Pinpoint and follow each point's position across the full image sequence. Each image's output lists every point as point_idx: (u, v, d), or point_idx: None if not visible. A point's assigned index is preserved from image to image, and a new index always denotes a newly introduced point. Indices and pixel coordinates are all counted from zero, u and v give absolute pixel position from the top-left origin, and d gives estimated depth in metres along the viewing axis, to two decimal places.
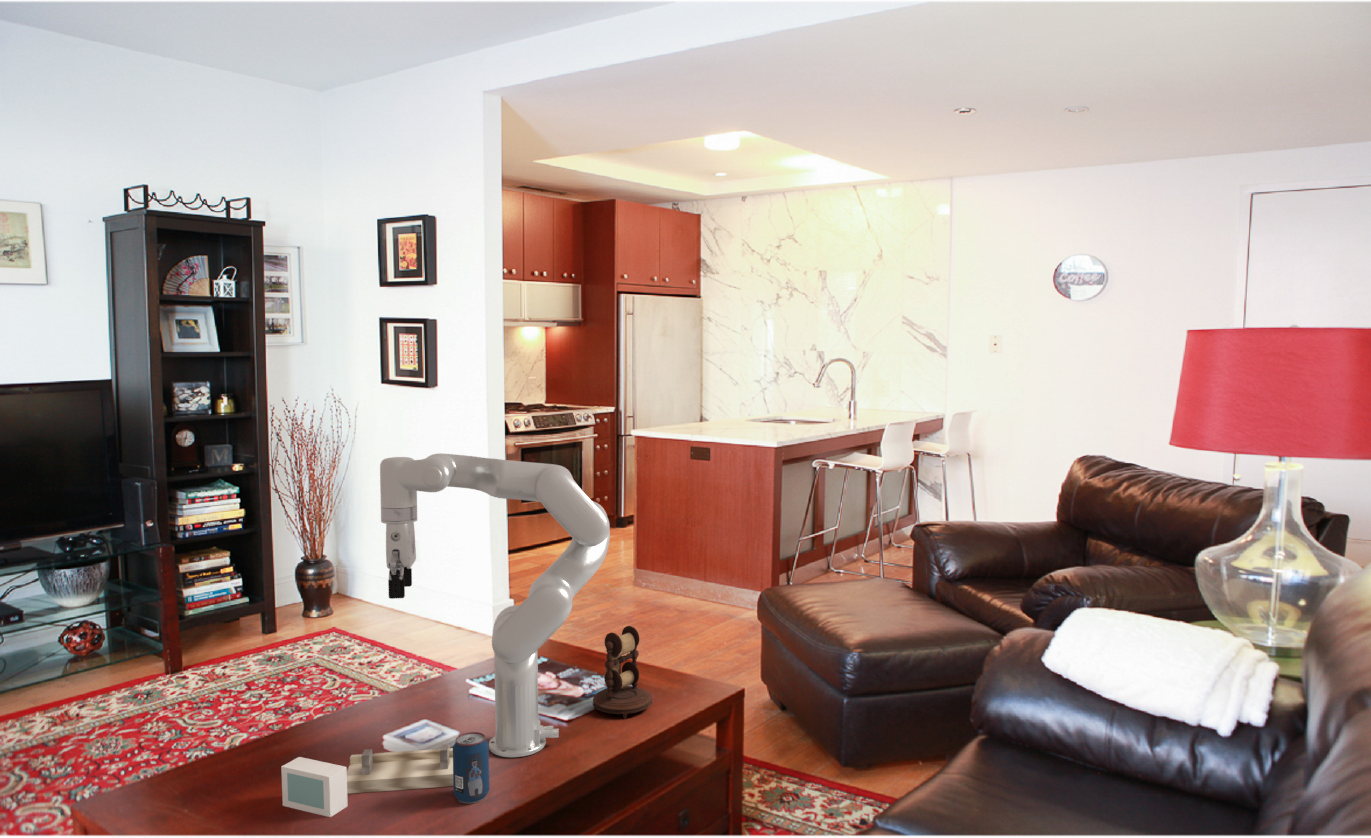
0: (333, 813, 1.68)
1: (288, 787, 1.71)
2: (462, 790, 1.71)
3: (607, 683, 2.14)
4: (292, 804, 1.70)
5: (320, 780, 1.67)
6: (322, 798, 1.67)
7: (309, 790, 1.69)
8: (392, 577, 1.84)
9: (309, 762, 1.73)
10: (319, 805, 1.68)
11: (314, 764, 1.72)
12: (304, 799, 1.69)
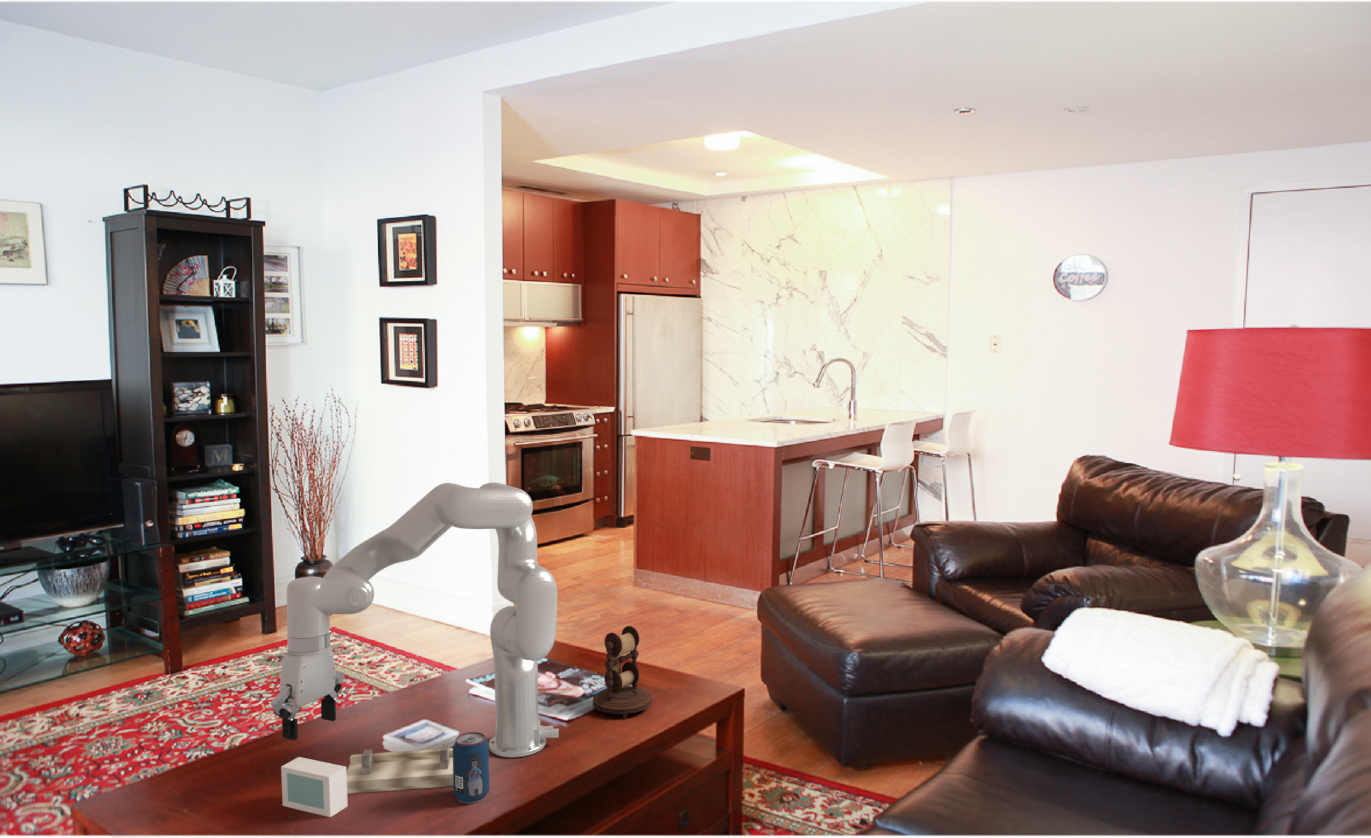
0: (333, 813, 1.68)
1: (288, 787, 1.71)
2: (462, 790, 1.71)
3: (607, 683, 2.14)
4: (292, 804, 1.70)
5: (320, 780, 1.67)
6: (322, 798, 1.67)
7: (309, 790, 1.69)
8: None
9: (309, 762, 1.73)
10: (319, 805, 1.68)
11: (314, 764, 1.72)
12: (304, 799, 1.69)
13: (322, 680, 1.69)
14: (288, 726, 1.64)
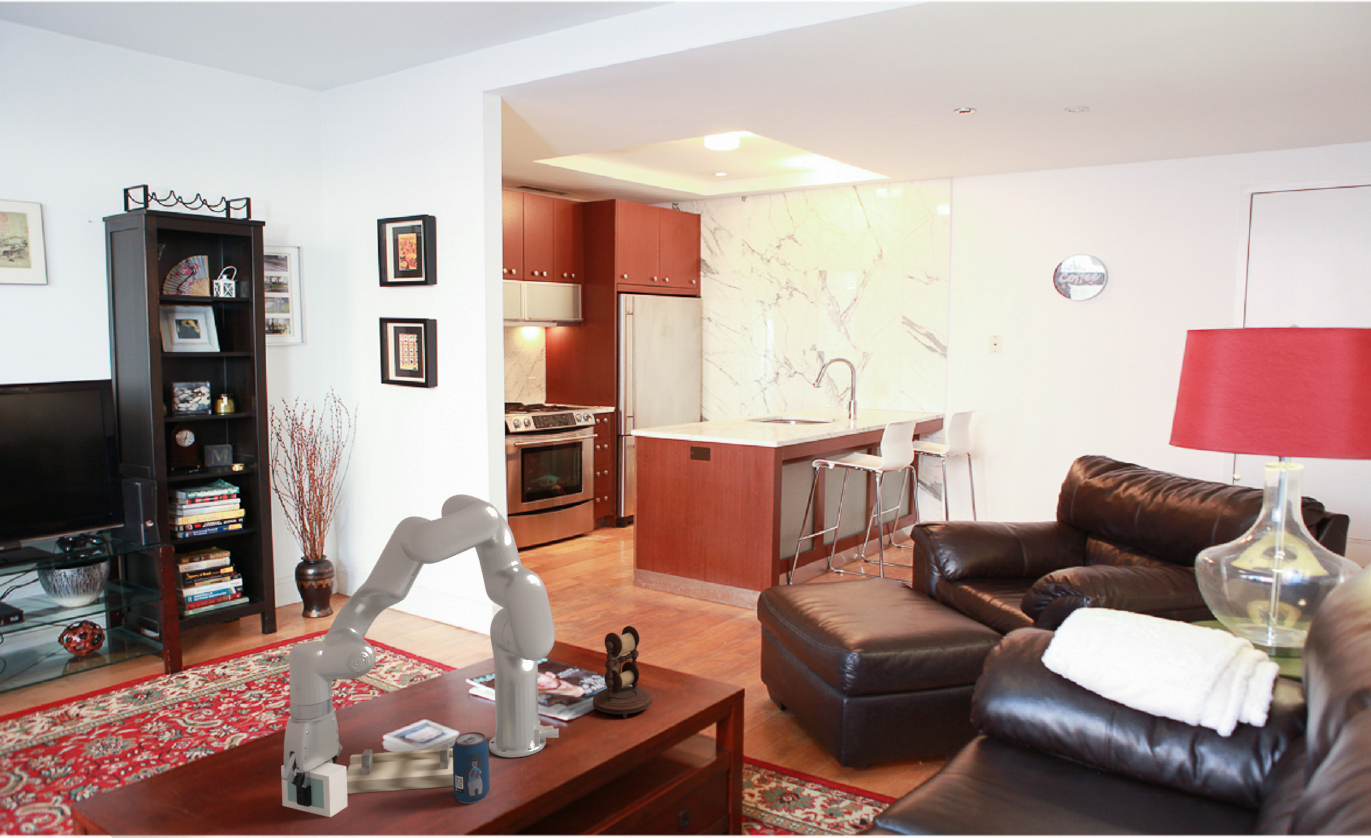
0: (333, 813, 1.68)
1: (288, 787, 1.71)
2: (462, 790, 1.71)
3: (607, 683, 2.14)
4: (292, 804, 1.70)
5: (320, 779, 1.67)
6: (322, 798, 1.67)
7: None
8: None
9: None
10: (319, 805, 1.68)
11: None
12: None
13: (326, 745, 1.70)
14: (302, 794, 1.67)
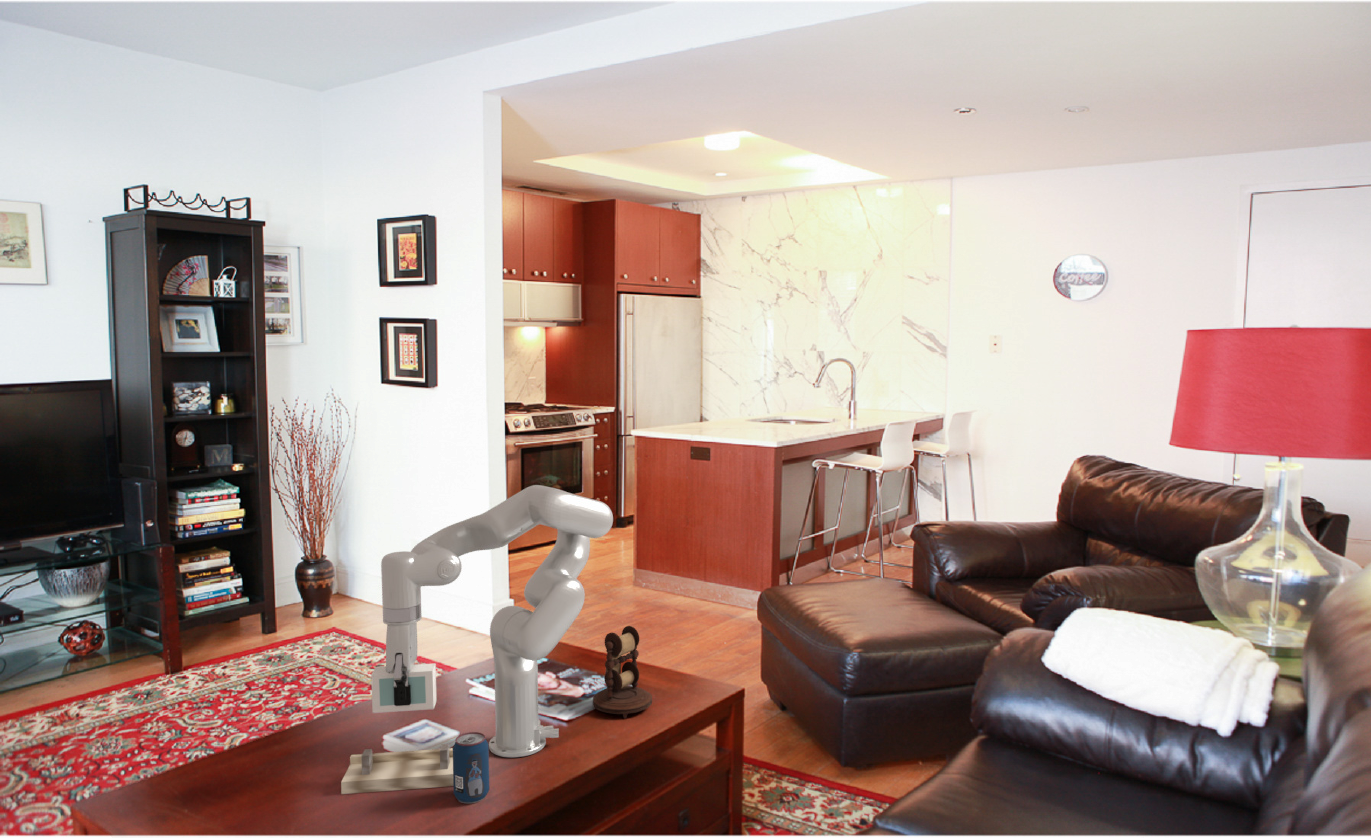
0: (434, 705, 1.80)
1: (380, 693, 1.77)
2: (462, 790, 1.71)
3: (607, 683, 2.14)
4: (385, 708, 1.78)
5: (421, 676, 1.78)
6: (423, 693, 1.79)
7: None
8: None
9: None
10: (420, 700, 1.79)
11: None
12: None
13: (416, 646, 1.81)
14: (405, 693, 1.77)
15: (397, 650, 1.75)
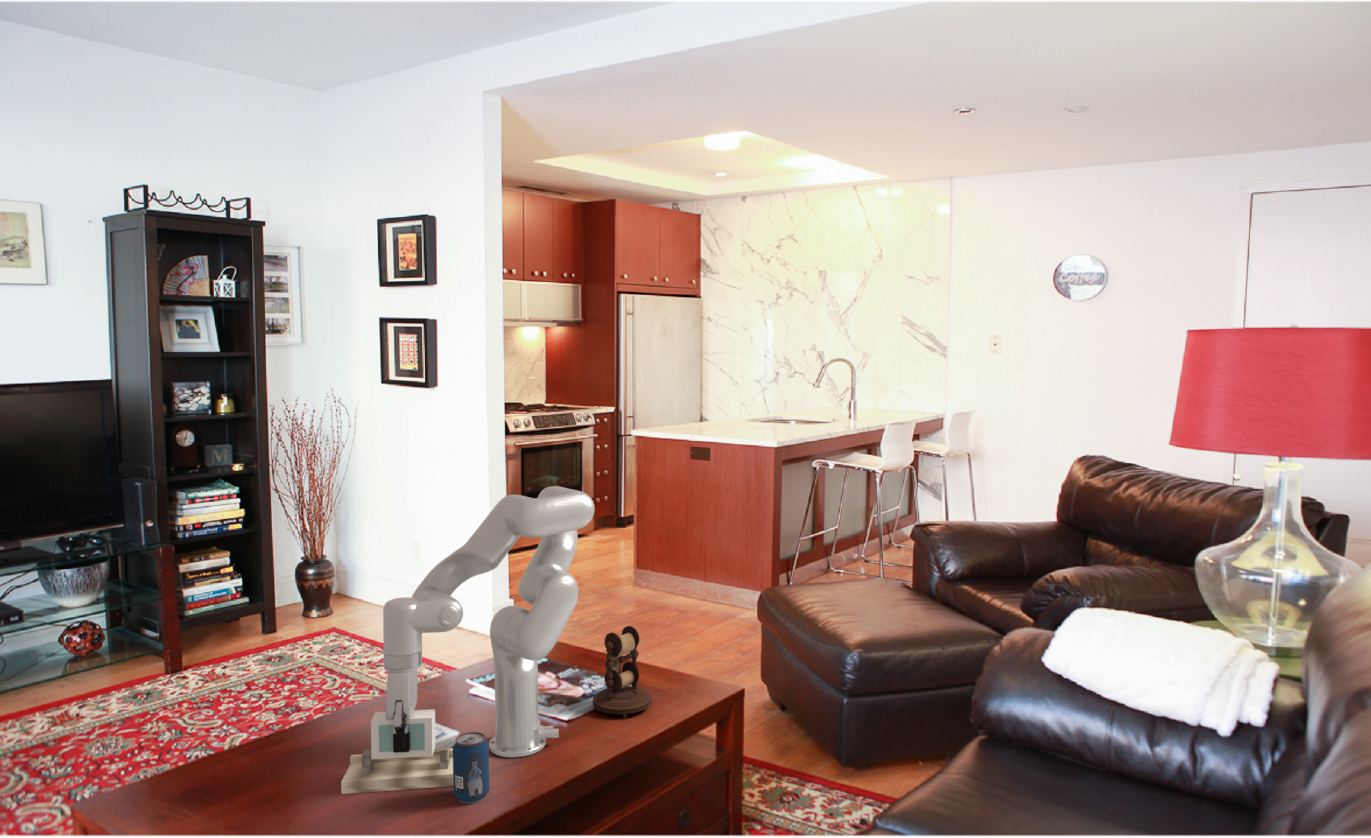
0: (432, 752, 1.80)
1: (379, 739, 1.78)
2: (462, 790, 1.71)
3: (607, 683, 2.14)
4: (384, 754, 1.78)
5: (421, 722, 1.79)
6: (422, 740, 1.79)
7: None
8: None
9: None
10: (419, 747, 1.79)
11: None
12: None
13: (416, 692, 1.81)
14: (404, 740, 1.77)
15: (397, 697, 1.75)
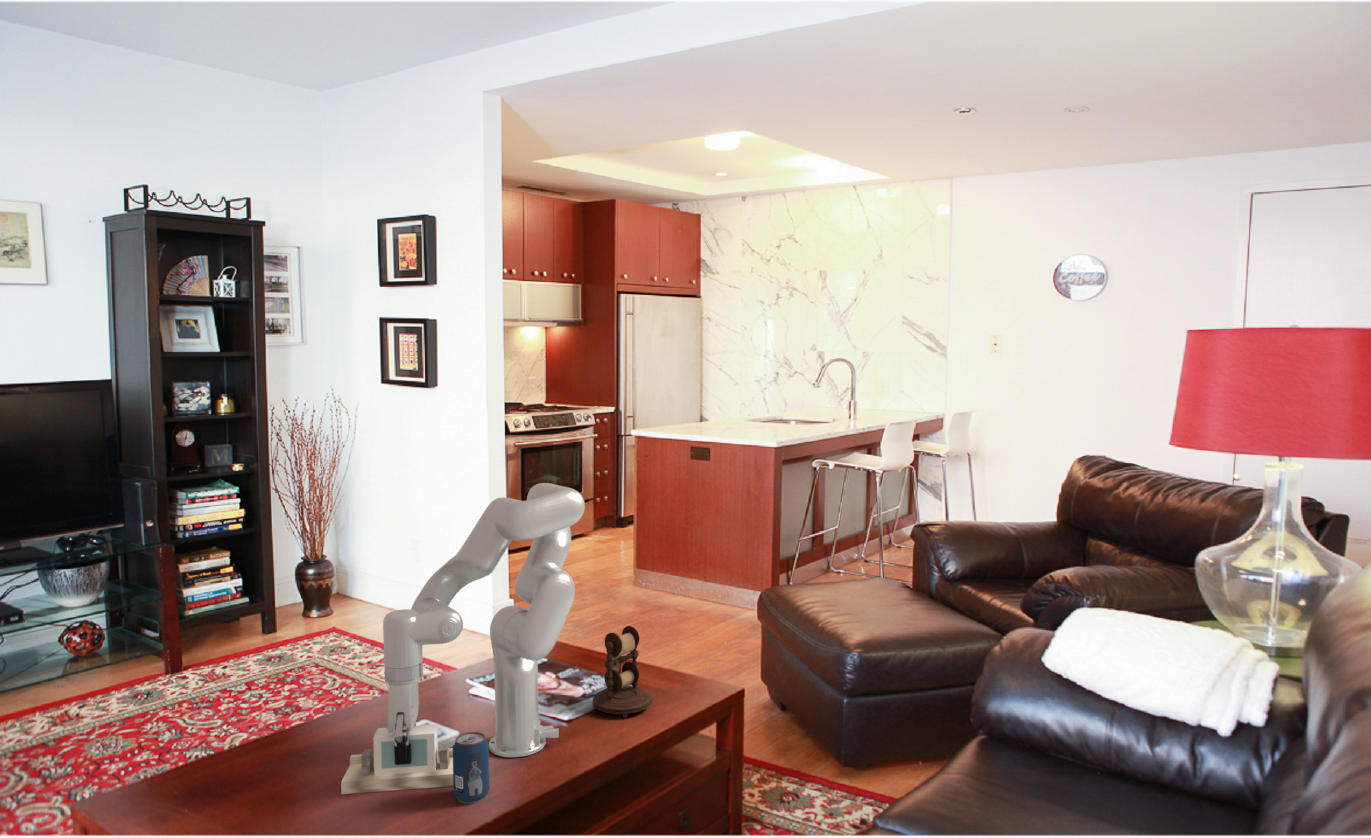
0: (435, 767, 1.81)
1: (382, 755, 1.78)
2: (462, 790, 1.71)
3: (607, 683, 2.14)
4: (387, 770, 1.79)
5: (423, 738, 1.79)
6: (425, 755, 1.79)
7: None
8: None
9: None
10: (421, 763, 1.79)
11: (403, 729, 1.82)
12: None
13: (417, 704, 1.82)
14: (405, 752, 1.77)
15: (399, 710, 1.75)
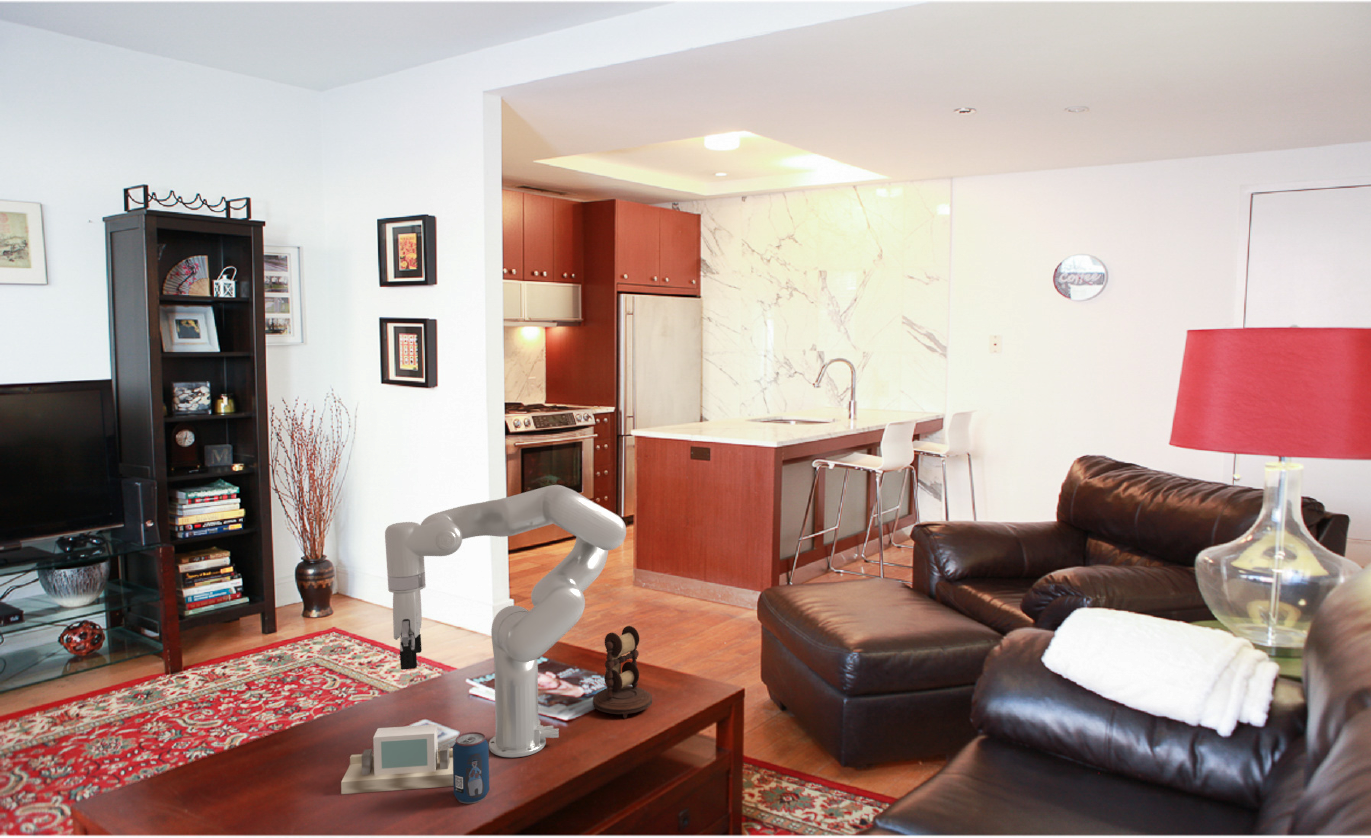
0: (435, 767, 1.81)
1: (382, 755, 1.78)
2: (462, 790, 1.71)
3: (607, 683, 2.14)
4: (387, 770, 1.79)
5: (423, 738, 1.79)
6: (425, 755, 1.79)
7: (409, 752, 1.79)
8: None
9: (395, 729, 1.82)
10: (421, 763, 1.79)
11: (403, 729, 1.82)
12: (403, 762, 1.79)
13: None
14: (411, 656, 1.80)
15: (404, 617, 1.80)
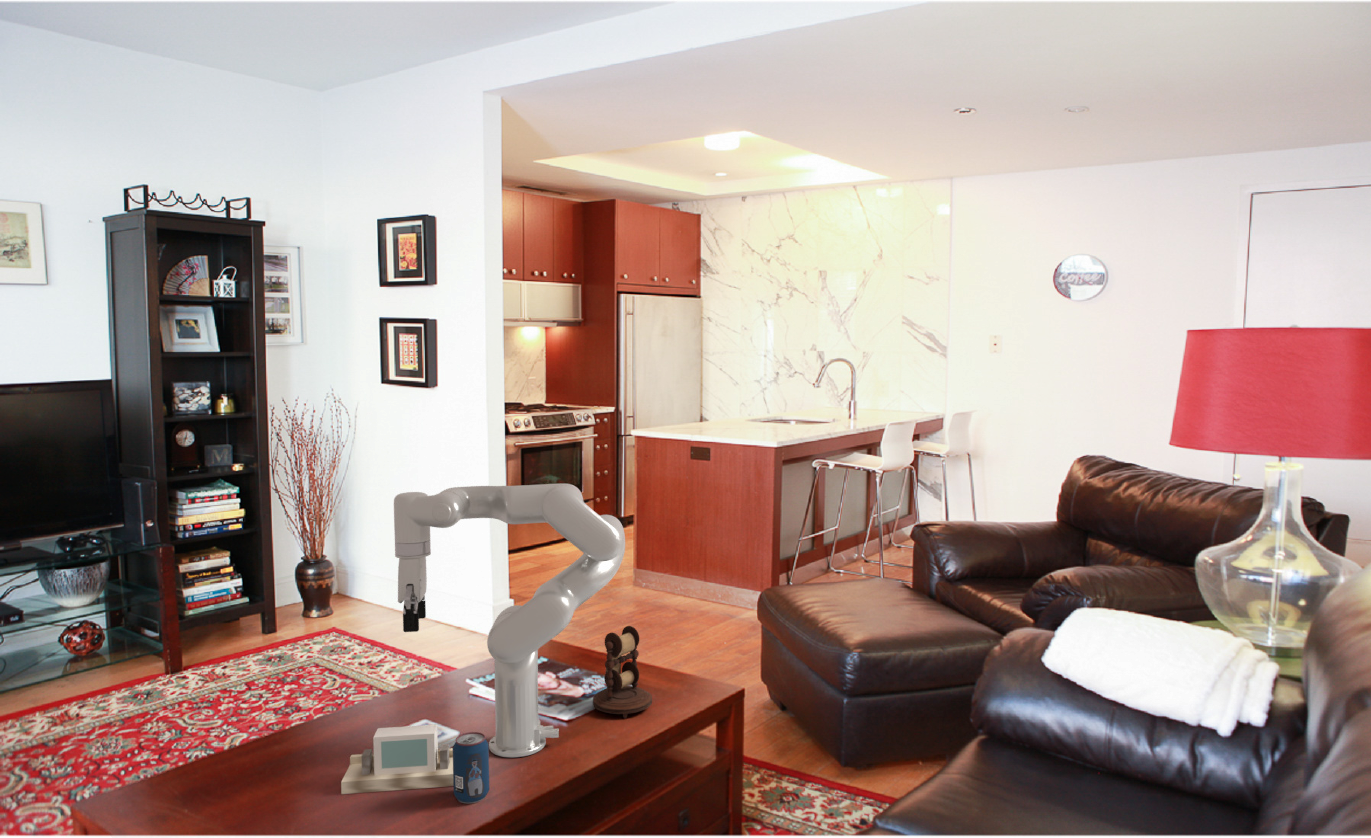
0: (435, 767, 1.81)
1: (382, 755, 1.78)
2: (462, 790, 1.71)
3: (607, 683, 2.14)
4: (387, 770, 1.79)
5: (423, 738, 1.79)
6: (425, 755, 1.79)
7: (409, 752, 1.79)
8: None
9: (395, 729, 1.82)
10: (421, 763, 1.79)
11: (403, 729, 1.82)
12: (403, 762, 1.79)
13: (425, 580, 1.95)
14: (413, 620, 1.89)
15: (408, 581, 1.89)
